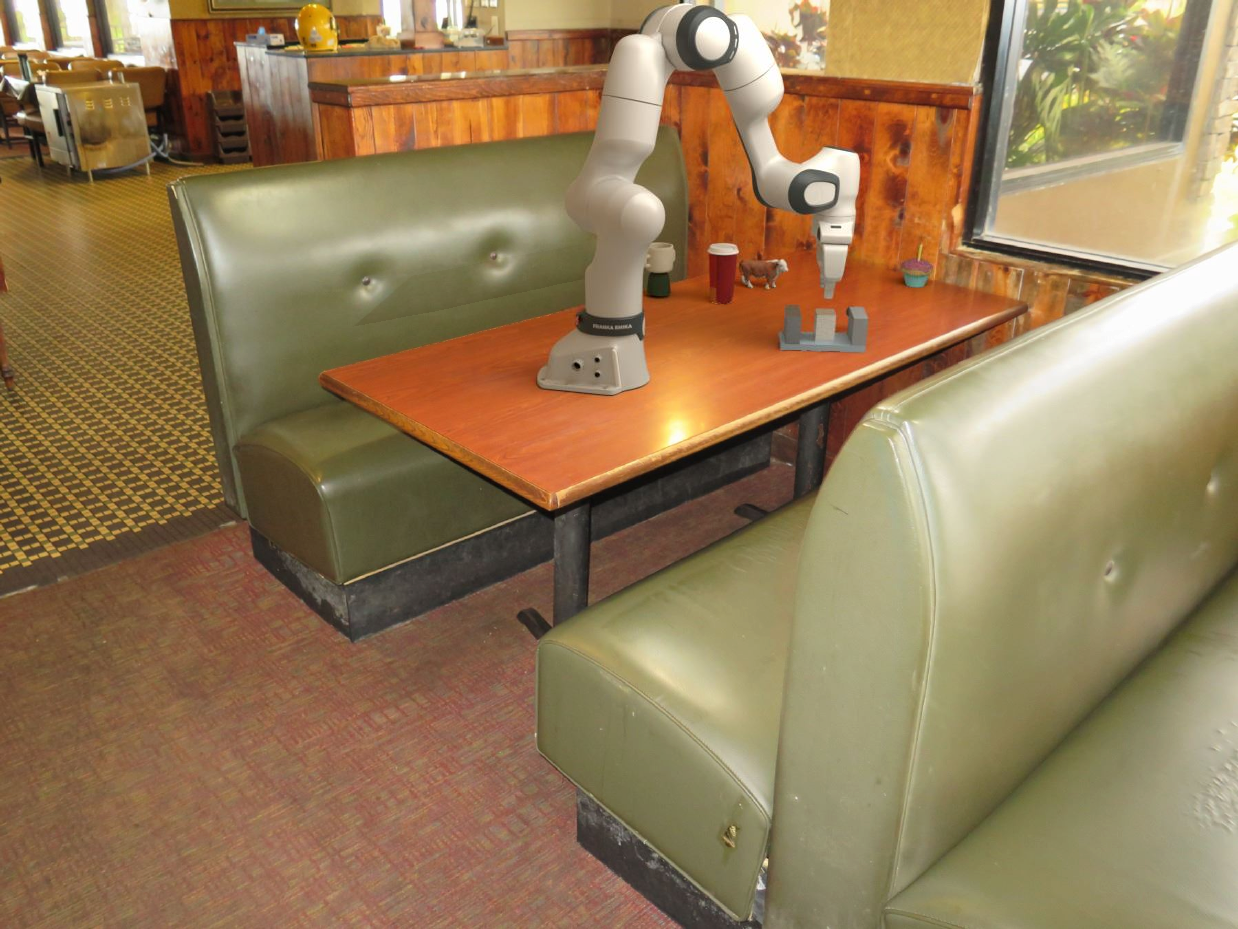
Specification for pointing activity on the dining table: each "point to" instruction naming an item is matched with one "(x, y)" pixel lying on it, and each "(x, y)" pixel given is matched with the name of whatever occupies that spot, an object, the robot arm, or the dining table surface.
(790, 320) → the jaw
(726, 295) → the paper cup
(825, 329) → the block
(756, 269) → the bull figurine
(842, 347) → the vise base
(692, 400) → the dining table surface
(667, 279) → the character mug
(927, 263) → the cupcake
